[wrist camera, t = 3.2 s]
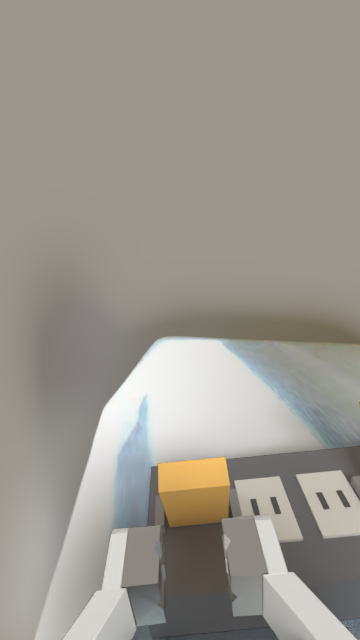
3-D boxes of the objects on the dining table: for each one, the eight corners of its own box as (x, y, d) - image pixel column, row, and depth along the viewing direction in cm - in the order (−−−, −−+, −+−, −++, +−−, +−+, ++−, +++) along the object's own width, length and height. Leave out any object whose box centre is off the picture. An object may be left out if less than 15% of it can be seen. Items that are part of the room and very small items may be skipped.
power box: (397, 476, 36) (406, 432, 34) (500, 605, 25) (524, 552, 22) (157, 499, 36) (149, 458, 34) (151, 638, 25) (140, 589, 23)
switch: (224, 496, 29) (225, 456, 24) (227, 521, 28) (230, 485, 22) (169, 502, 29) (158, 463, 24) (170, 527, 28) (158, 492, 22)
